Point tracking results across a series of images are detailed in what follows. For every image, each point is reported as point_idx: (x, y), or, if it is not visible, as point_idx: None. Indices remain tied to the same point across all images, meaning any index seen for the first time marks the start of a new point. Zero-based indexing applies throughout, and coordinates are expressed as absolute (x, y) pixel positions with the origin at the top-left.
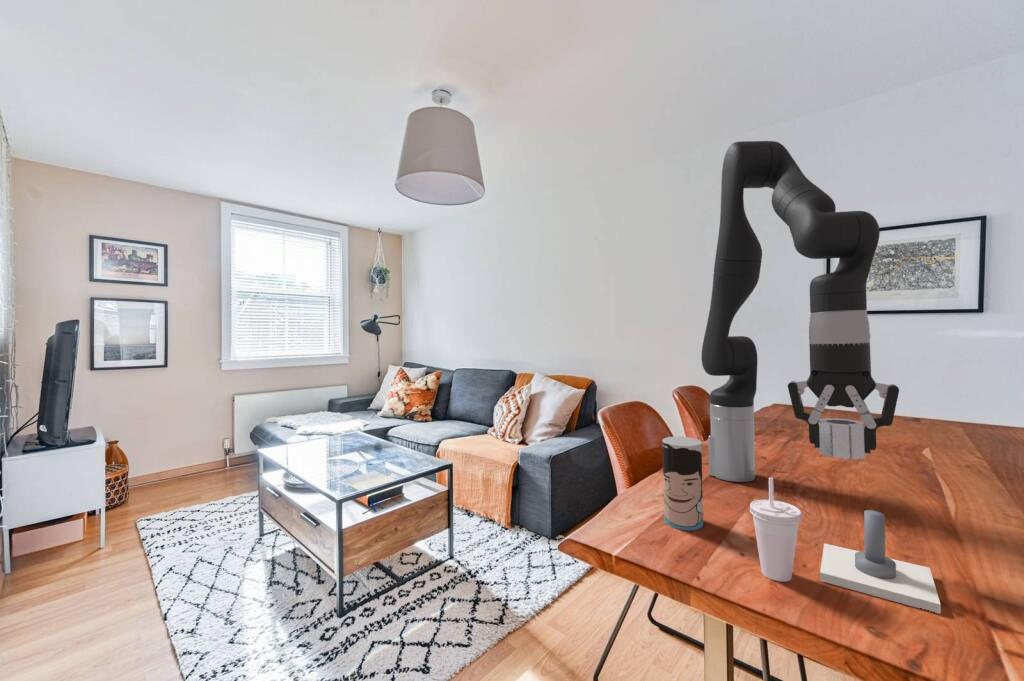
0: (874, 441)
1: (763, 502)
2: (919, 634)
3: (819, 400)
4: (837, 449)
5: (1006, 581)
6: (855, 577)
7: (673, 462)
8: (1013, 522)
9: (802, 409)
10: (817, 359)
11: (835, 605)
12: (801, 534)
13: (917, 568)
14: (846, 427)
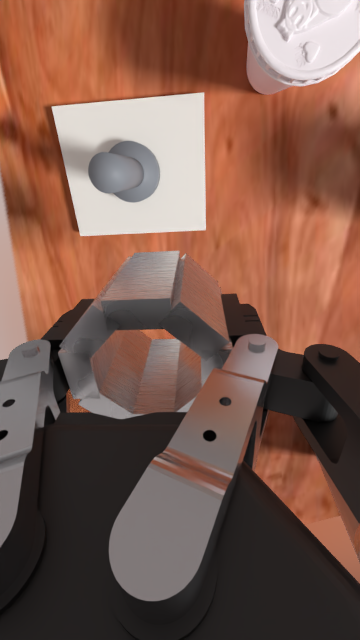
0: (58, 324)
1: (352, 29)
2: (68, 3)
3: (240, 422)
4: (163, 260)
5: (23, 276)
6: (154, 116)
7: None
8: None
9: (323, 390)
10: None
11: (176, 6)
12: (239, 270)
13: (91, 222)
14: (113, 297)
